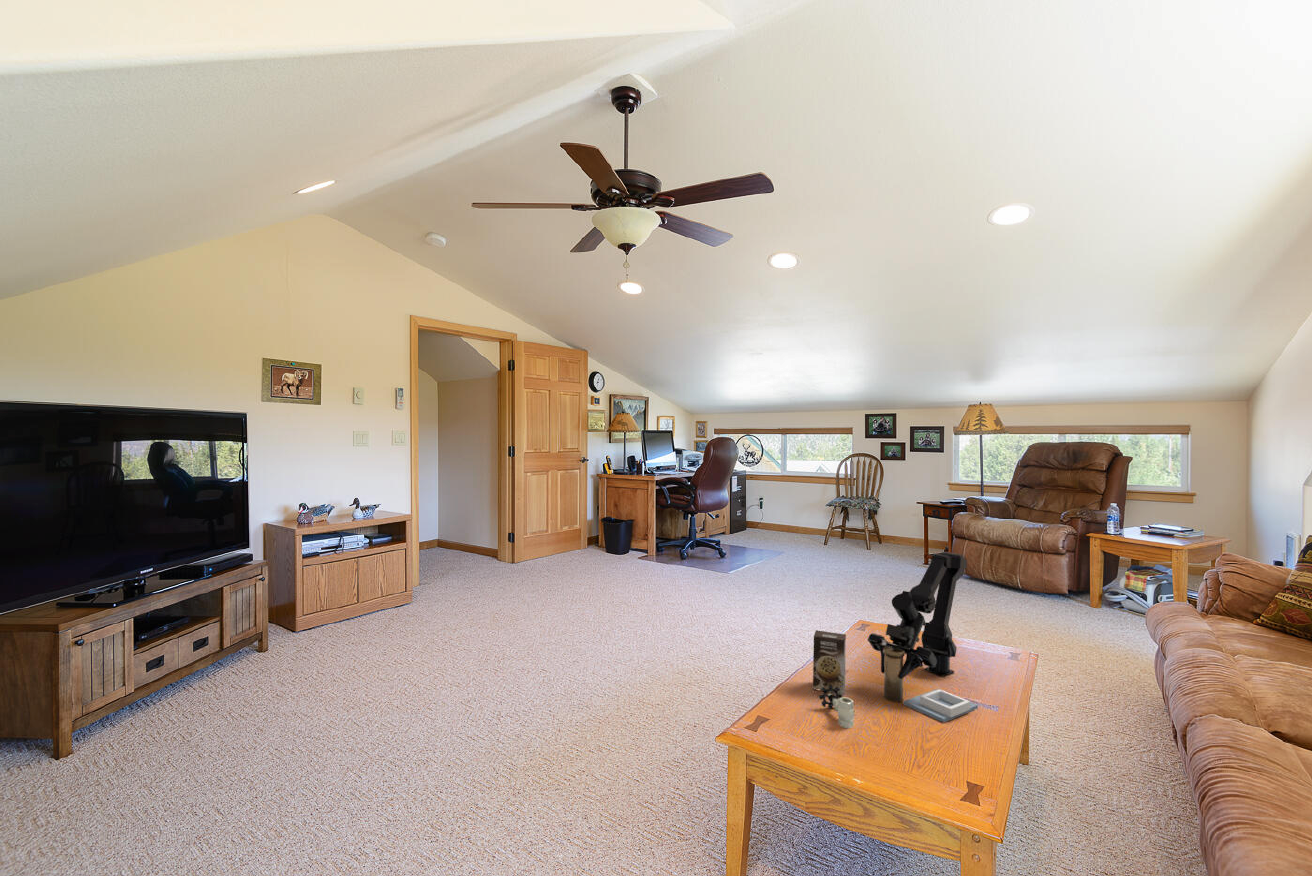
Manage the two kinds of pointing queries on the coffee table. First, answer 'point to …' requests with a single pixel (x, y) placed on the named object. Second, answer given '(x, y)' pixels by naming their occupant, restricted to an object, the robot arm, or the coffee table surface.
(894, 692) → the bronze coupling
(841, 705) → the valve
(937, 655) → the robot arm
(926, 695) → the collar plate
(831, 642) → the cookie box
